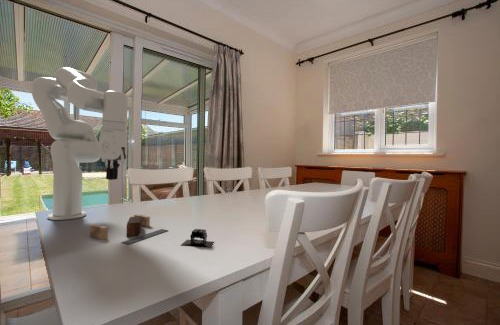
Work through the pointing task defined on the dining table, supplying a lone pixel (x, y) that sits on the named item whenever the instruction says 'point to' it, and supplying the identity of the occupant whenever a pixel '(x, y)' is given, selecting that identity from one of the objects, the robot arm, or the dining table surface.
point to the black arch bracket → (198, 243)
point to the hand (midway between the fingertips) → (111, 179)
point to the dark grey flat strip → (144, 236)
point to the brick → (134, 226)
